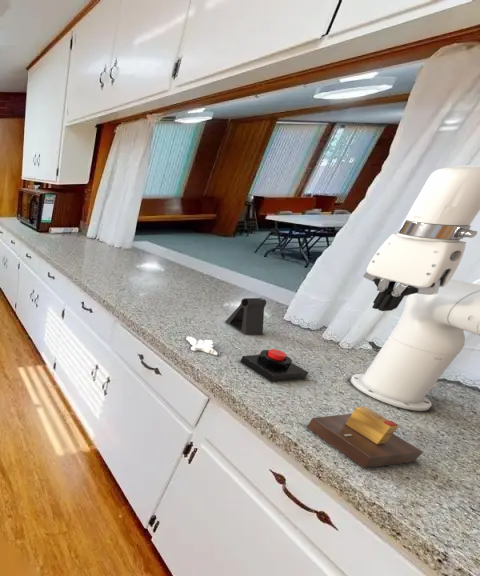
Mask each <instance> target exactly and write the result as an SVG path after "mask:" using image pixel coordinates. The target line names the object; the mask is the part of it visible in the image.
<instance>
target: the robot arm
mask: <svg viewBox="0 0 480 576" xmlns="http://www.w3.org/2000/svg"><path fill="white" fill-rule="evenodd" d="M479 212H480V164H460V165H455V166H451V167H442V168H439V169H437V170H434V171H433V172H432V173H431V174H430V176H429V177H428V178H427V180H426V182H425V184H424V185H423V187H422V189H421V191H420V193H419V194H418V196H417V198H416V199H415V201H414V203H413V205H412V206H411V208H410V210H409V211H408V214H406V217H405V218H404V220H403V222H402V224H401V225H400V227H399V229H398V230H397V232H394V233H392V234H391V235H390V236H388V238H387V239H386V240H385V241H384V242H383V243H382V244H381V245H380V247H379V248H378V249H377V250H376V252H375V253H374V255H373V256H372V258H371V260H370V261H369V263H368V264H367V267H366V269H365V270H366V271H365V273H364V274H363V278H365V279H367V280H369V281H370V282H373V283H374V285H375V286H376V292H378V293H377V295H376V296H375V298H374V299H373V302H372V303H373V305H372V306H371V308H372V309H374V310H378V311H381V312H389V311H390V312H391V311H394V310H396V309H398V307H399V305H400V304H401V302H402V301H403V299H404V298H405V297H406V300H405V304H404V307H403V311H402V313H401V316H400V318H399V320H398V322H397V323H396V325H395V327H394V328H393V330H392V331H391V333H390V334H389V335H388V337H387V339H386V340H385V342H384V344H383V345H382V347H381V348H380V349H379V351H378V352H377V354H376V355H375V357H374V359H373V360H372V362H371V363H370V365H369V366H368V368H367V369H366V371H365V372H364V373H355V374H353V375H352V376H351V377H350V380H349V381H350V382H351V384H352V385H353V386H354V387H355V388H356V389H357V390H358V391H360V392H361V393H364V394H365V395H367V396H369V397H371V398H373V399H375V400H378V401H379V402H383V403H385V404H387V405H390V406H393V407H396V408H400V409H403V410H409V411H415V412H416V411H417V412H424V411H428V410H430V408H431V407H432V406H433V404H432V401H431V400H430V399H429V398H428V397H427V394H428V393H429V392H430V390H433V389H434V390H435V389H437V388H438V384H437V382H438V380H439V379H440V378H441V376H443V374H444V372H445V371H446V370H447V369H448V368H449V366H450V365H451V364H452V362H453V361H454V360H455V359H456V357H457V356H458V355H459V354H460V353H461V351H462V350H463V348H464V346H465V342H466V337H465V332H467V333H471V334H473V335H476V336H479V337H480V278H478V279H476V280H475V281H473V282H472V283H471V282H467V281H463V280H458V279H457V280H456V279H452V278H453V277H454V274H455V273H456V271H457V269H458V267H459V265H460V263H461V261H462V259H463V256H464V253H465V250H466V246H467V242H466V241H462V240H463V239H464V238H470V239H473V238H474V237H475V236H477V234H478V231H477V230H472V229H471V227H472V225H471V224H472V223H473V221H474V220H475V218H476V216H477V215H478V214H479ZM397 284H398V285H397Z"/></svg>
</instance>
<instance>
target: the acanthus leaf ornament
mask: <svg viewBox="0 0 480 576" xmlns="http://www.w3.org/2000/svg"><path fill="white" fill-rule="evenodd" d="M186 341H188V343H189V344H190V345H191V347H190V350H191V351H194V352H196V351H197V352H198V351H201V352H205V353H207V354H211V355H214V356H218V355H219V353H218V352H217V350H215V349H214V342H213V340H212V339H204V340H203V339H199V340H197V339H196V338H195V337H192V336H186Z"/></svg>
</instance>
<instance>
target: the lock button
mask: <svg viewBox="0 0 480 576" xmlns="http://www.w3.org/2000/svg"><path fill="white" fill-rule="evenodd" d="M268 350H269V352H268V356H269V357H271V358H273V359H275V360H279V361H284V360H285V358H286V356H288V355H287V353H286V352H284V351H282V350H278V349H275V348H270V349H268Z"/></svg>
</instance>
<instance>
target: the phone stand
mask: <svg viewBox="0 0 480 576" xmlns="http://www.w3.org/2000/svg"><path fill="white" fill-rule="evenodd" d="M266 305H267V300H266V299H265V298H264V299H263V297H246V298H245V297H244V298H242V299H241V301H240V304H239V305H238V307H236V309H234V311H233V312H232V314H230V315H229V317H228V318H227V319H226V320H225V323H226V324H228V325H230V326H231V327H232V328H234V329H236V330H237V331H238V332H241V333H242V334H244V335H263V334H264V317H265V307H266Z"/></svg>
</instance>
